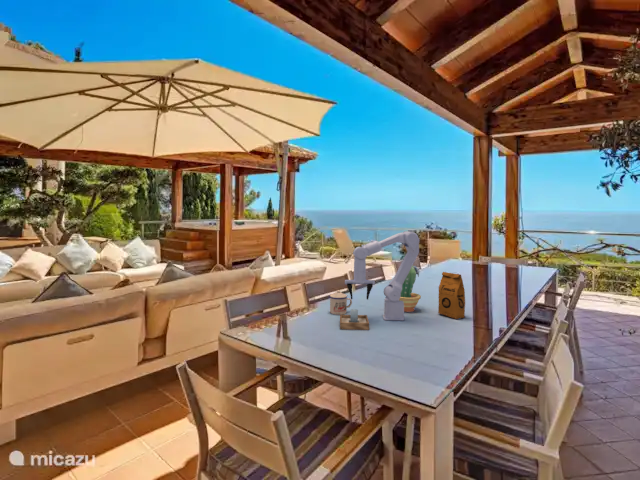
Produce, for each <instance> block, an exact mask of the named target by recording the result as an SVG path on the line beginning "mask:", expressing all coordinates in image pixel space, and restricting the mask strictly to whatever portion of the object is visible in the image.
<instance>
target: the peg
mask: <svg viewBox="0 0 640 480" xmlns="http://www.w3.org/2000/svg"><path fill="white" fill-rule="evenodd" d="M349 315H350V322H353V323H358V315H359V310H358V309H355V308H353V309H350V314H349Z"/></svg>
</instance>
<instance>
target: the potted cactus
mask: <svg viewBox="0 0 640 480" xmlns="http://www.w3.org/2000/svg"><path fill="white" fill-rule="evenodd" d="M417 277H418V278H419V277H420V270H419V268H418V267H417V266H416V265H414V264H413V265H412V267H411V269H410V271H409V273H408V275H407V277H406V279H405V281H404V283H403V285H402V291H401V297H400V299H399V301H403V302H404V313H405V312H406V313H407V312H408V313H411V312H414V311H415V307H416V306H417V305H418V303H419V300H420V299H421V297H422V295H420V294H419V293H415V292H413V287H414V284H415V282H416V278H417Z"/></svg>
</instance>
